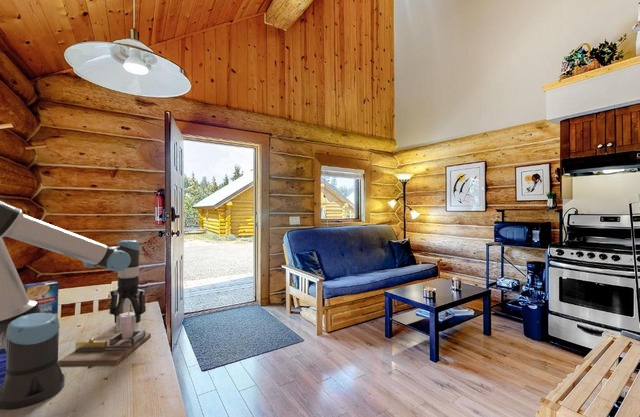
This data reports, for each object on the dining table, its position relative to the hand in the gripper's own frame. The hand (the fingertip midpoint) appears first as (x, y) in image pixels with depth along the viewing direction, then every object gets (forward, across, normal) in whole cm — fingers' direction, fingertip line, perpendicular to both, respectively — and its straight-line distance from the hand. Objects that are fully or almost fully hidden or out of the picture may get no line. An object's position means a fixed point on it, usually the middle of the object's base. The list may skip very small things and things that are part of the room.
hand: (127, 330), depth 125 cm
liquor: (+6, +17, -28) cm, 34 cm away
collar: (+5, 0, -1) cm, 5 cm away
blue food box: (+6, +49, -16) cm, 52 cm away
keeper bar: (+4, +9, +7) cm, 13 cm away
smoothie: (+3, 0, 0) cm, 3 cm away
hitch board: (+6, +4, +4) cm, 9 cm away
